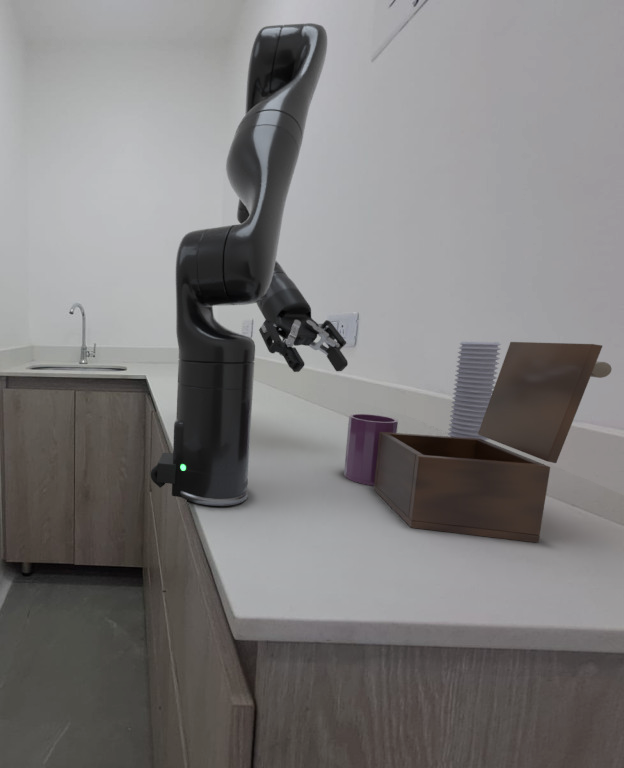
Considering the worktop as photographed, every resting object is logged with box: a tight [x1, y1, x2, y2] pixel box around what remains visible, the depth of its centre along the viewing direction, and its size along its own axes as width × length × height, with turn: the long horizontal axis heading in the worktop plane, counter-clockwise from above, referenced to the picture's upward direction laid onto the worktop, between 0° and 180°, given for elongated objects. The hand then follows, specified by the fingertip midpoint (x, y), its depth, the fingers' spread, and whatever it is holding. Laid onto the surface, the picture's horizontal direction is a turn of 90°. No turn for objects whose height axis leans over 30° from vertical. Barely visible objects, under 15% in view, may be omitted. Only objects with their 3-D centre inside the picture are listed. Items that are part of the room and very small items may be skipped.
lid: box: [478, 341, 612, 464], centre depth 43 cm, size 12×11×4 cm
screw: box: [447, 341, 502, 441], centre depth 55 cm, size 8×8×20 cm
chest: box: [373, 432, 551, 543], centre depth 47 cm, size 11×11×8 cm
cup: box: [343, 413, 399, 487], centre depth 58 cm, size 6×6×9 cm
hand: (321, 368), depth 66 cm, fingers open, 8 cm apart
